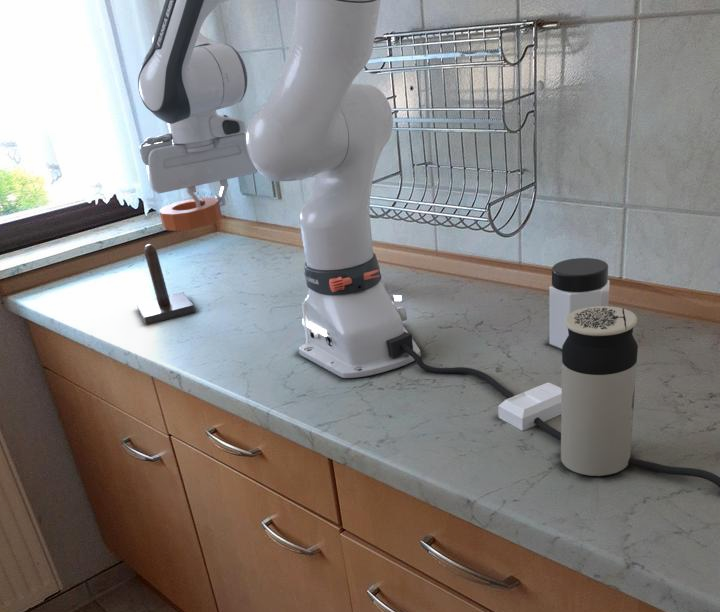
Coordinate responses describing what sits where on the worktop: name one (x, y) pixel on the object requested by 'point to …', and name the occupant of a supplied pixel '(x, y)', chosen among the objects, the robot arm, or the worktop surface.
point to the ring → (190, 214)
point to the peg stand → (161, 294)
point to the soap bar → (532, 406)
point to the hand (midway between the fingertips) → (212, 207)
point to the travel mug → (598, 390)
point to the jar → (575, 292)
